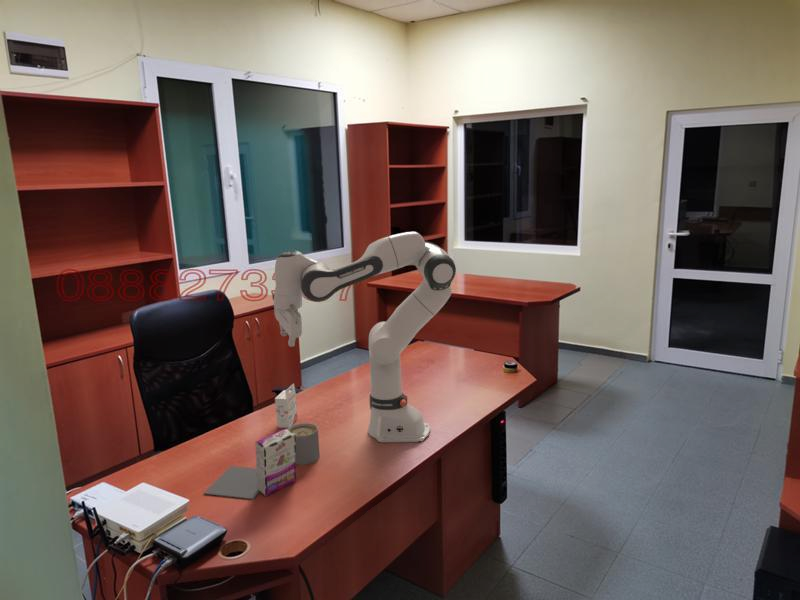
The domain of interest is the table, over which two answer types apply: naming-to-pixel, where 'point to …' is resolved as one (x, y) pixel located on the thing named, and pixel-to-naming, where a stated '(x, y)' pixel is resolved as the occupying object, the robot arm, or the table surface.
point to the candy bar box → (276, 461)
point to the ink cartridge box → (286, 408)
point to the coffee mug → (306, 443)
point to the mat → (236, 483)
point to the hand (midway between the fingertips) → (287, 340)
